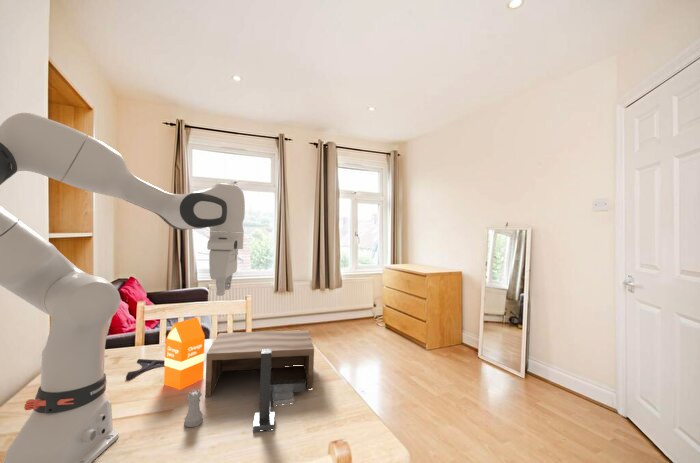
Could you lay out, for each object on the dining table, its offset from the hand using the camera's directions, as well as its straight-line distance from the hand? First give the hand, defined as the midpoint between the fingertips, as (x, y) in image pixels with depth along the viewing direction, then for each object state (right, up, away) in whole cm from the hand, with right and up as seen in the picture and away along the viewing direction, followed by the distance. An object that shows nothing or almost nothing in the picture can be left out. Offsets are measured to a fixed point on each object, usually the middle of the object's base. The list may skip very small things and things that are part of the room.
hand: (224, 292), depth 90 cm
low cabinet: (+6, -33, +19) cm, 39 cm away
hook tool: (+16, -32, 0) cm, 36 cm away
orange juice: (-19, -33, +16) cm, 41 cm away
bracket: (-37, -33, +23) cm, 55 cm away
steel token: (+15, -34, +6) cm, 37 cm away
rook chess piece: (-5, -33, -7) cm, 34 cm away
